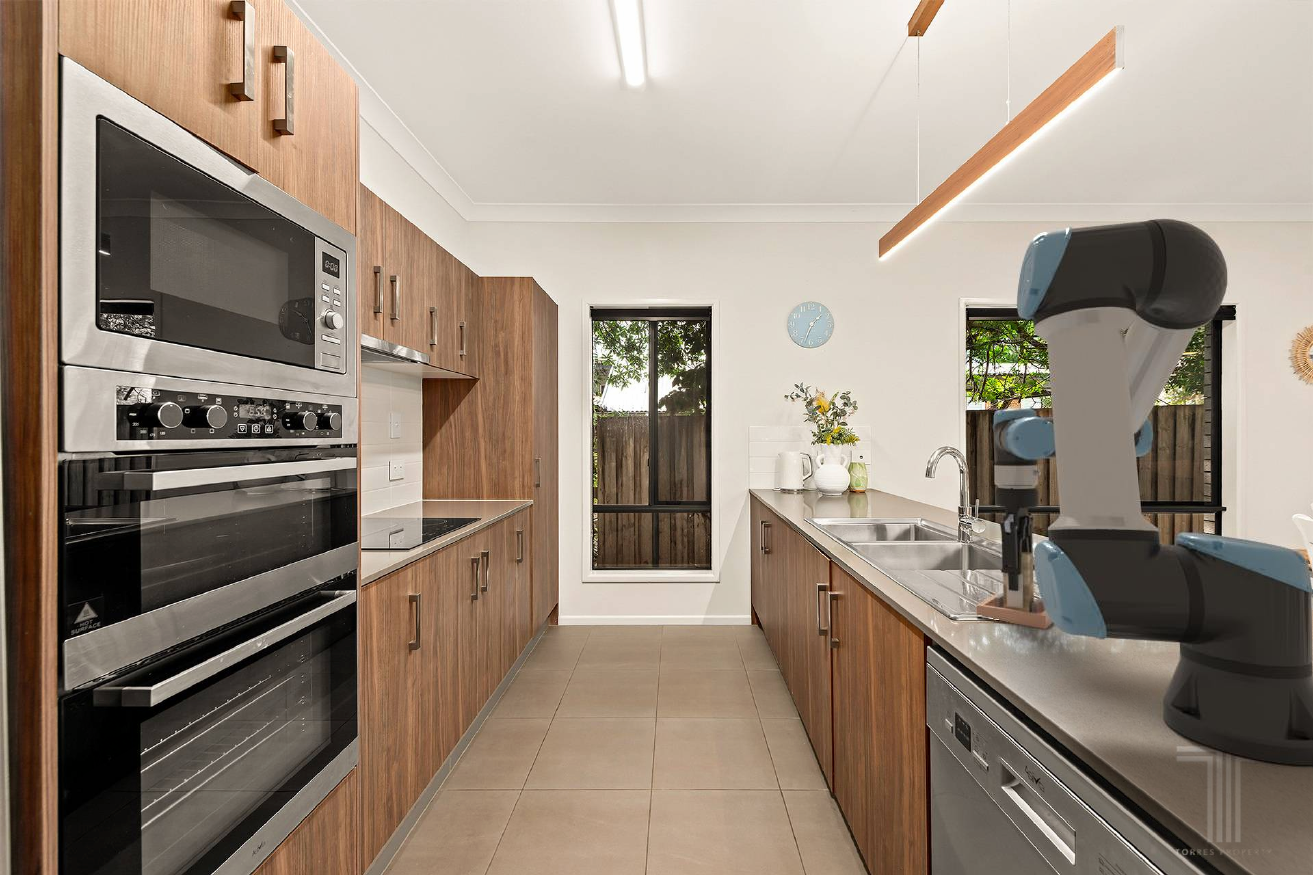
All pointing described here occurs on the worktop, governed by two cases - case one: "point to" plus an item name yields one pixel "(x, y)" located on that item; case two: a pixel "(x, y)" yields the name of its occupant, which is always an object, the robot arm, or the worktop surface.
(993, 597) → the candle dish
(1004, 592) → the tan wooden block
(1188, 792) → the worktop surface
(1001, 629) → the worktop surface
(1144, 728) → the worktop surface
